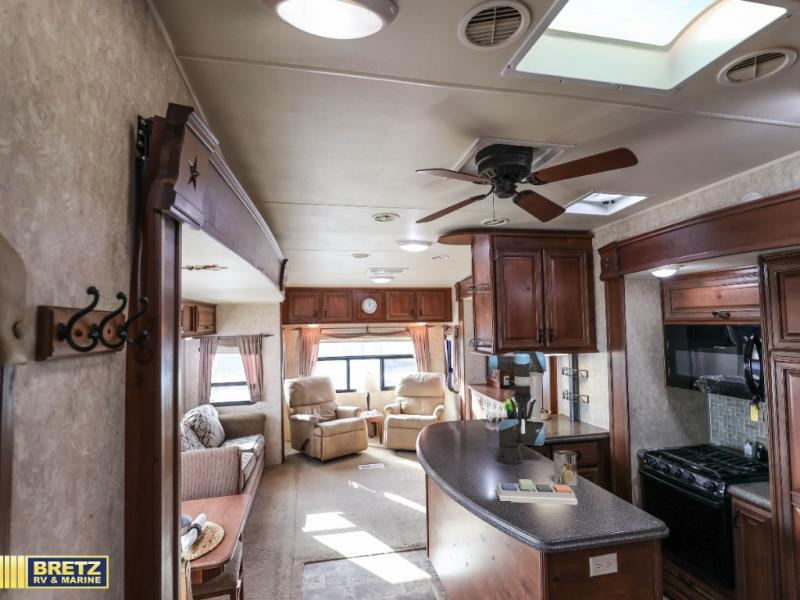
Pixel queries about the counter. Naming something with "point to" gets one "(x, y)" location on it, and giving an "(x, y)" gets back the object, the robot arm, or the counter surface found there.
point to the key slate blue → (508, 487)
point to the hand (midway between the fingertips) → (522, 432)
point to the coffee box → (565, 468)
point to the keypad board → (536, 496)
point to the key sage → (526, 484)
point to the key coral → (561, 489)
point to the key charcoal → (543, 488)
